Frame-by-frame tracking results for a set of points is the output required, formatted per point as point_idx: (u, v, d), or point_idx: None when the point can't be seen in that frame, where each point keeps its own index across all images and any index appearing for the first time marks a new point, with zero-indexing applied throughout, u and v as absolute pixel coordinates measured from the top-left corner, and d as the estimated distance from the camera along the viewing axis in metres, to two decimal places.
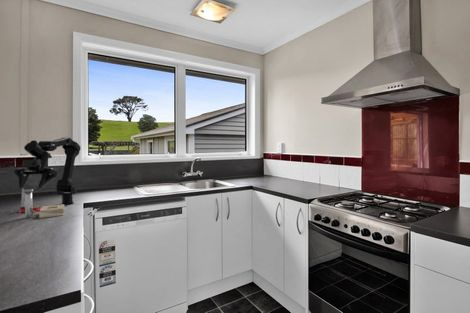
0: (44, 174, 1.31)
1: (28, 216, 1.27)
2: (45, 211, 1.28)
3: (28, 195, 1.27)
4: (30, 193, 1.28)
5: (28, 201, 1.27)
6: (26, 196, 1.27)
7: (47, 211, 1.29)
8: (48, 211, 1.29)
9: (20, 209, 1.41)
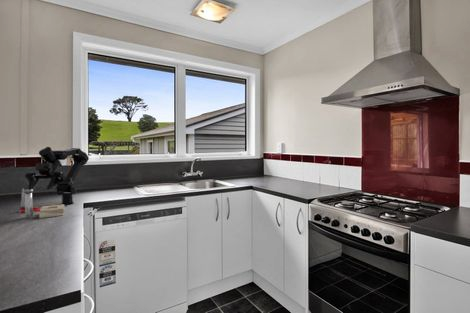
0: (54, 177, 1.38)
1: (28, 216, 1.27)
2: (45, 211, 1.28)
3: (28, 195, 1.27)
4: (30, 193, 1.28)
5: (28, 201, 1.27)
6: (26, 196, 1.27)
7: (47, 211, 1.29)
8: (48, 211, 1.29)
9: (20, 209, 1.41)
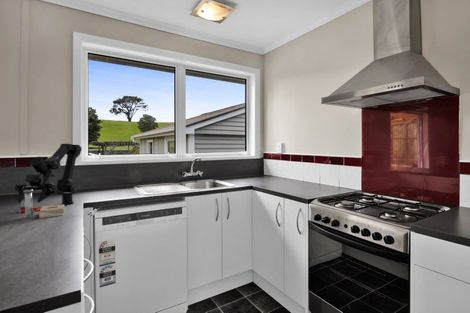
0: (45, 189, 1.31)
1: (28, 216, 1.27)
2: (45, 211, 1.28)
3: (28, 195, 1.27)
4: (30, 193, 1.28)
5: (28, 201, 1.27)
6: (26, 196, 1.27)
7: (47, 211, 1.29)
8: (48, 211, 1.29)
9: (20, 209, 1.41)
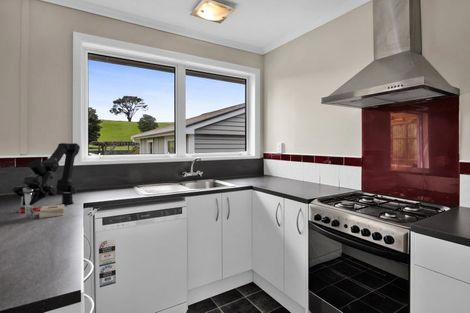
0: (37, 192, 1.30)
1: (28, 216, 1.27)
2: (45, 211, 1.28)
3: (28, 195, 1.27)
4: (30, 193, 1.28)
5: (28, 201, 1.27)
6: (26, 196, 1.27)
7: (47, 211, 1.29)
8: (48, 211, 1.29)
9: (20, 209, 1.41)
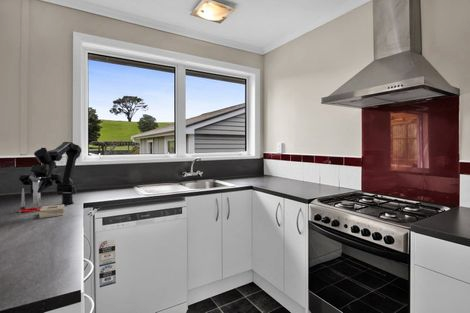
0: (45, 180, 1.32)
1: (37, 204, 1.29)
2: (45, 211, 1.28)
3: (36, 183, 1.29)
4: (38, 181, 1.30)
5: (36, 189, 1.29)
6: (34, 184, 1.29)
7: (47, 211, 1.29)
8: (48, 211, 1.29)
9: (20, 209, 1.41)
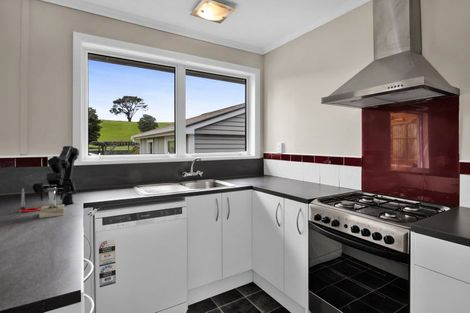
0: (66, 187, 1.38)
1: None
2: (45, 211, 1.28)
3: (53, 192, 1.34)
4: (54, 191, 1.34)
5: (53, 198, 1.34)
6: (51, 194, 1.33)
7: (47, 211, 1.29)
8: (48, 211, 1.29)
9: (20, 209, 1.41)
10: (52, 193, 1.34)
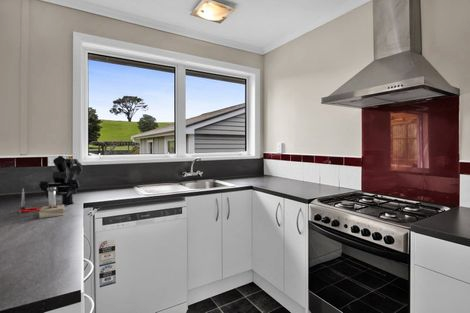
0: (71, 185, 1.47)
1: None
2: (45, 211, 1.28)
3: (53, 192, 1.34)
4: (54, 191, 1.34)
5: (53, 198, 1.34)
6: (51, 194, 1.33)
7: (47, 211, 1.29)
8: (48, 211, 1.29)
9: (20, 209, 1.41)
10: (52, 193, 1.34)
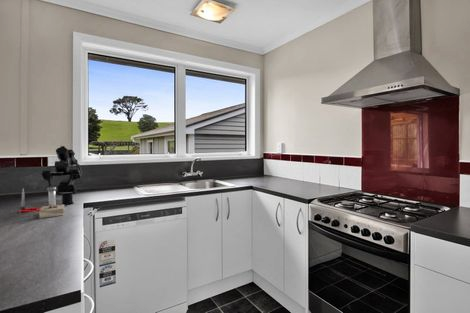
0: (73, 174, 1.50)
1: None
2: (45, 211, 1.28)
3: (53, 192, 1.34)
4: (54, 191, 1.34)
5: (53, 198, 1.34)
6: (51, 194, 1.33)
7: (47, 211, 1.29)
8: (48, 211, 1.29)
9: (20, 209, 1.41)
10: (52, 193, 1.34)
